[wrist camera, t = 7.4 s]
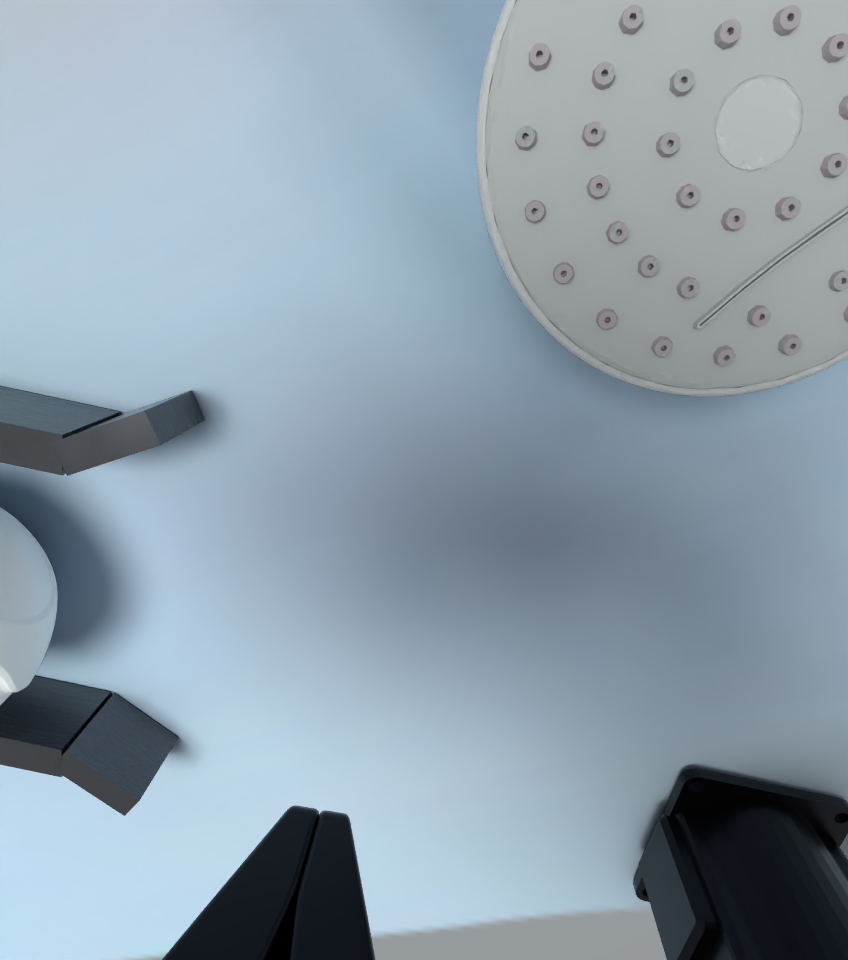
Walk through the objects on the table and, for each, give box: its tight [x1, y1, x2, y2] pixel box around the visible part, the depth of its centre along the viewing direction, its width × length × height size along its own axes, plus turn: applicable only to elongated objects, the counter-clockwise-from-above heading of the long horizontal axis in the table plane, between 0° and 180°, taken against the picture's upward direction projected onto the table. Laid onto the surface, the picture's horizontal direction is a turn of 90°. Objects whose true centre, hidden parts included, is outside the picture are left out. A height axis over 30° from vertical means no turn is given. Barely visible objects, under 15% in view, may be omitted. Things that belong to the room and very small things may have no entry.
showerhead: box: [476, 0, 848, 396], centre depth 13 cm, size 9×7×10 cm
